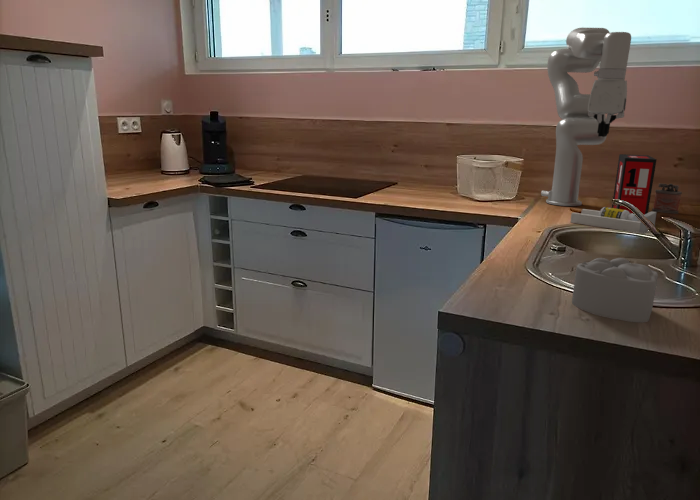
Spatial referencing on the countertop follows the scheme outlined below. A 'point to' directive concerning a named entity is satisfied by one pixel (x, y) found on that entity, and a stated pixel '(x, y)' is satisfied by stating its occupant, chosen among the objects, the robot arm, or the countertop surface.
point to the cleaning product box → (634, 181)
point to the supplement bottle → (617, 214)
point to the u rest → (611, 221)
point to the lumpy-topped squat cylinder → (615, 289)
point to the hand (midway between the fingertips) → (602, 136)
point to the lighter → (667, 199)
